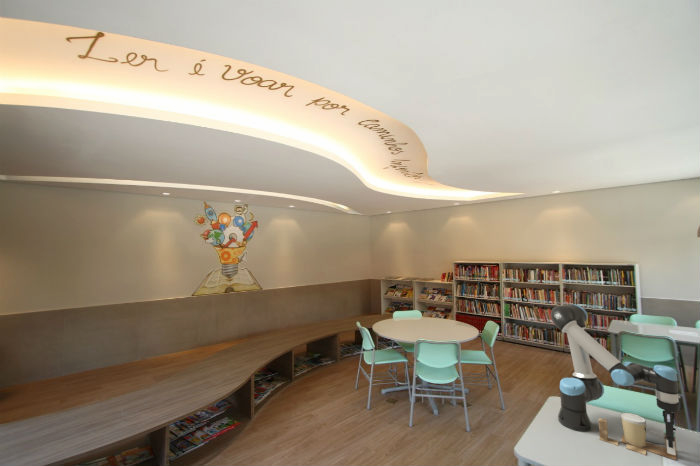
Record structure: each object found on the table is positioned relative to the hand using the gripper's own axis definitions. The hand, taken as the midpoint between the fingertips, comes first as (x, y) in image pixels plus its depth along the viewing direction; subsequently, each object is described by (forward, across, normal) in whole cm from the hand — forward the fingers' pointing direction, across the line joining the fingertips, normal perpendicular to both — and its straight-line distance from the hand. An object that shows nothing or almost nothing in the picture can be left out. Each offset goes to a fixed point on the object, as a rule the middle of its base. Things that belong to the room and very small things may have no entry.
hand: (671, 448), depth 143 cm
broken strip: (+3, -7, +16) cm, 18 cm away
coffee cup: (+2, 0, +13) cm, 13 cm away
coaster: (+3, +12, +8) cm, 15 cm away
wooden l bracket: (+3, 0, +8) cm, 9 cm away
